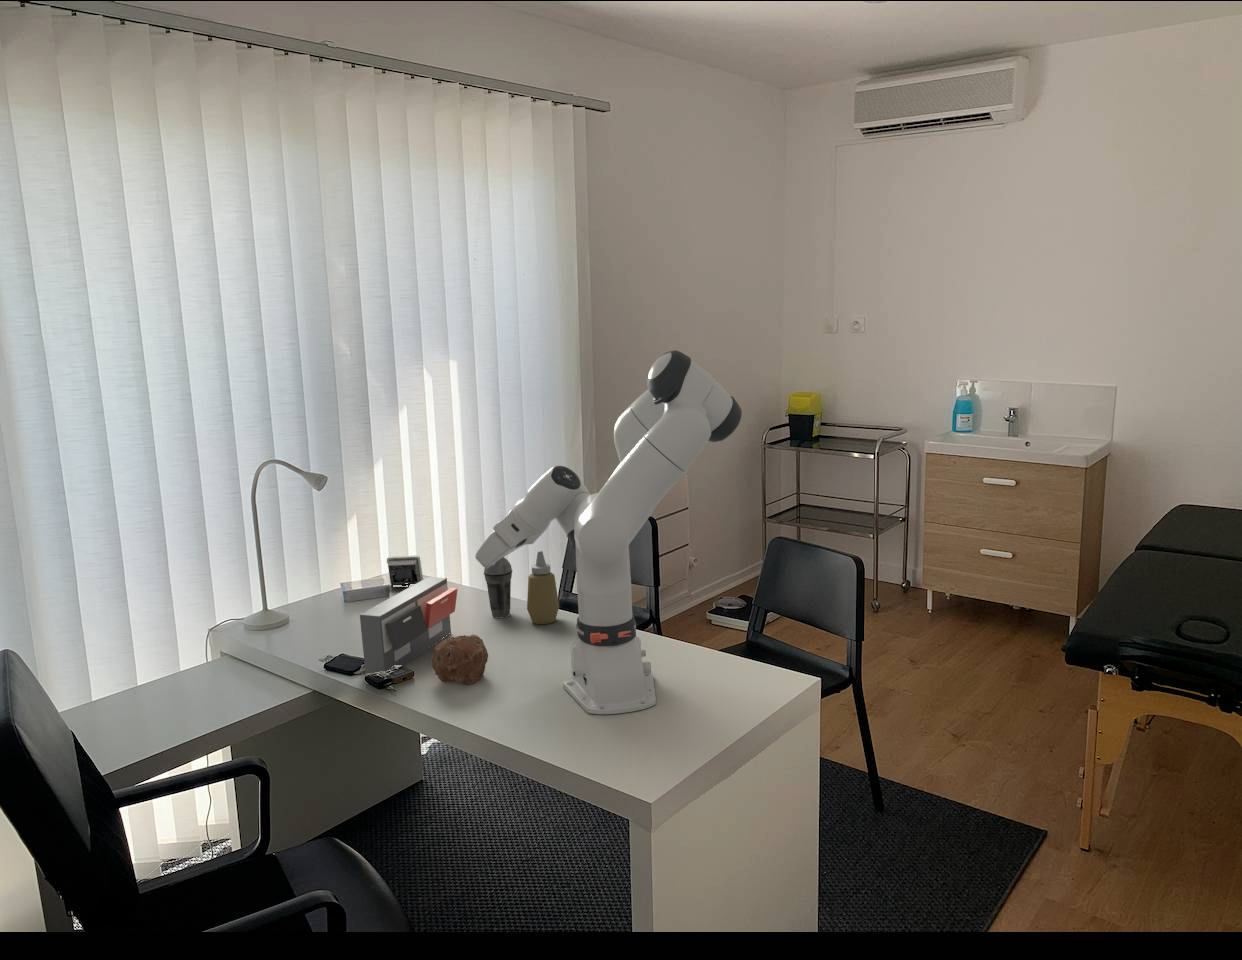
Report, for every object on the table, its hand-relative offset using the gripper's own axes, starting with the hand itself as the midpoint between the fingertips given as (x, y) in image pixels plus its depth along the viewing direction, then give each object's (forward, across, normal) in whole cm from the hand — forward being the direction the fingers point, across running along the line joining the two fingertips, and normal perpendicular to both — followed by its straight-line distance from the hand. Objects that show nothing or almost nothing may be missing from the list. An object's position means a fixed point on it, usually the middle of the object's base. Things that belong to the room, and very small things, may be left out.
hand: (487, 564), depth 210 cm
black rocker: (+19, +14, +1) cm, 24 cm away
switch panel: (+27, +7, +2) cm, 28 cm away
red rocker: (+20, 0, 0) cm, 20 cm away
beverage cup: (+21, -22, +8) cm, 31 cm away
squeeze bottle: (+12, -20, +17) cm, 29 cm away
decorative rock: (+14, +18, +16) cm, 27 cm away
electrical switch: (+48, -38, -19) cm, 64 cm away
